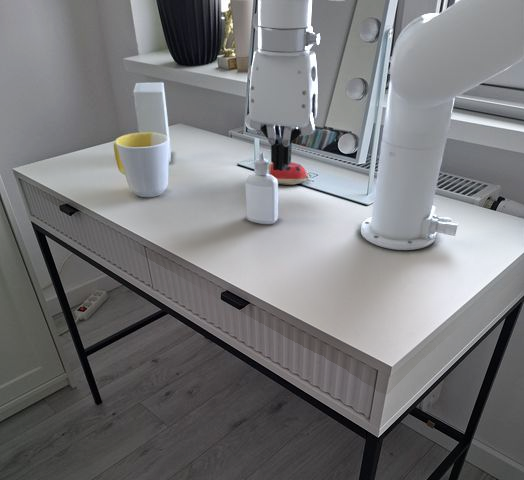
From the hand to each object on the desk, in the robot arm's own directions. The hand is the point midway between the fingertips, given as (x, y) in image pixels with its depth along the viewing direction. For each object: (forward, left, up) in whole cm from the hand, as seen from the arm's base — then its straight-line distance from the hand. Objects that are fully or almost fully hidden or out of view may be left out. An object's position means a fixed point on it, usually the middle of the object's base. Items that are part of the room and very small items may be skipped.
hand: (280, 167), depth 85 cm
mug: (+32, -5, -10) cm, 33 cm away
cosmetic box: (+40, -23, -10) cm, 47 cm away
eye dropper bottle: (+4, 0, -10) cm, 11 cm away
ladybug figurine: (+7, -20, -10) cm, 23 cm away
